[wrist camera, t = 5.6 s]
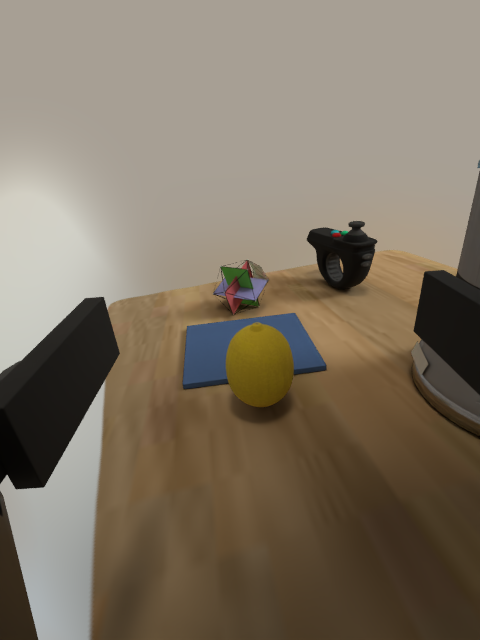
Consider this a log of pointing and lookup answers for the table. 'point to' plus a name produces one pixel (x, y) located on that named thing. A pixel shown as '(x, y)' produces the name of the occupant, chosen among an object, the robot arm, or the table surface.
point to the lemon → (259, 365)
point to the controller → (343, 254)
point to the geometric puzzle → (242, 285)
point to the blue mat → (214, 339)
